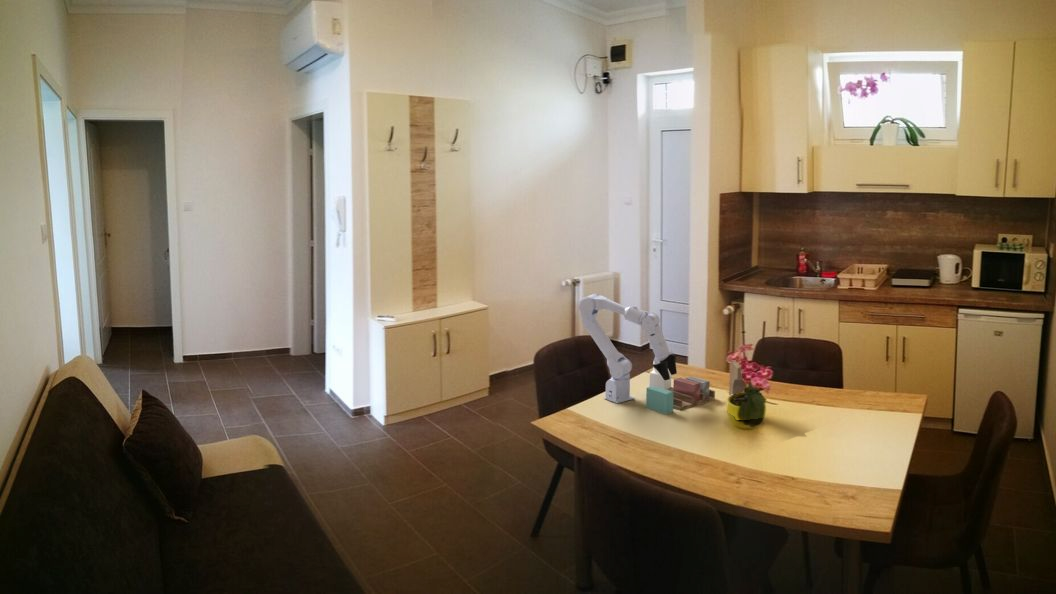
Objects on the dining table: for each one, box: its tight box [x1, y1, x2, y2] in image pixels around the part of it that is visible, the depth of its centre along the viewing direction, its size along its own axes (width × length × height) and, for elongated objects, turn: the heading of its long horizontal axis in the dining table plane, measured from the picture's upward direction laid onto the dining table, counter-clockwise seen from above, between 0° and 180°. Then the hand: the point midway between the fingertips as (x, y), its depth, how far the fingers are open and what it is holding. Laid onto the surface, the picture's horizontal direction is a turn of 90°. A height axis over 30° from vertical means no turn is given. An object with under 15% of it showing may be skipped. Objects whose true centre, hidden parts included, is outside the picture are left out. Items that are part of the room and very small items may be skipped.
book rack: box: [668, 375, 716, 411], centre depth 281 cm, size 21×12×8 cm, turn 127°
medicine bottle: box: [648, 361, 672, 390], centre depth 298 cm, size 7×7×12 cm
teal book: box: [645, 386, 674, 415], centre depth 271 cm, size 4×10×8 cm, turn 37°
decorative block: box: [728, 359, 746, 396], centre depth 262 cm, size 11×6×20 cm, turn 177°
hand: (670, 377), depth 274 cm, fingers open, 7 cm apart
